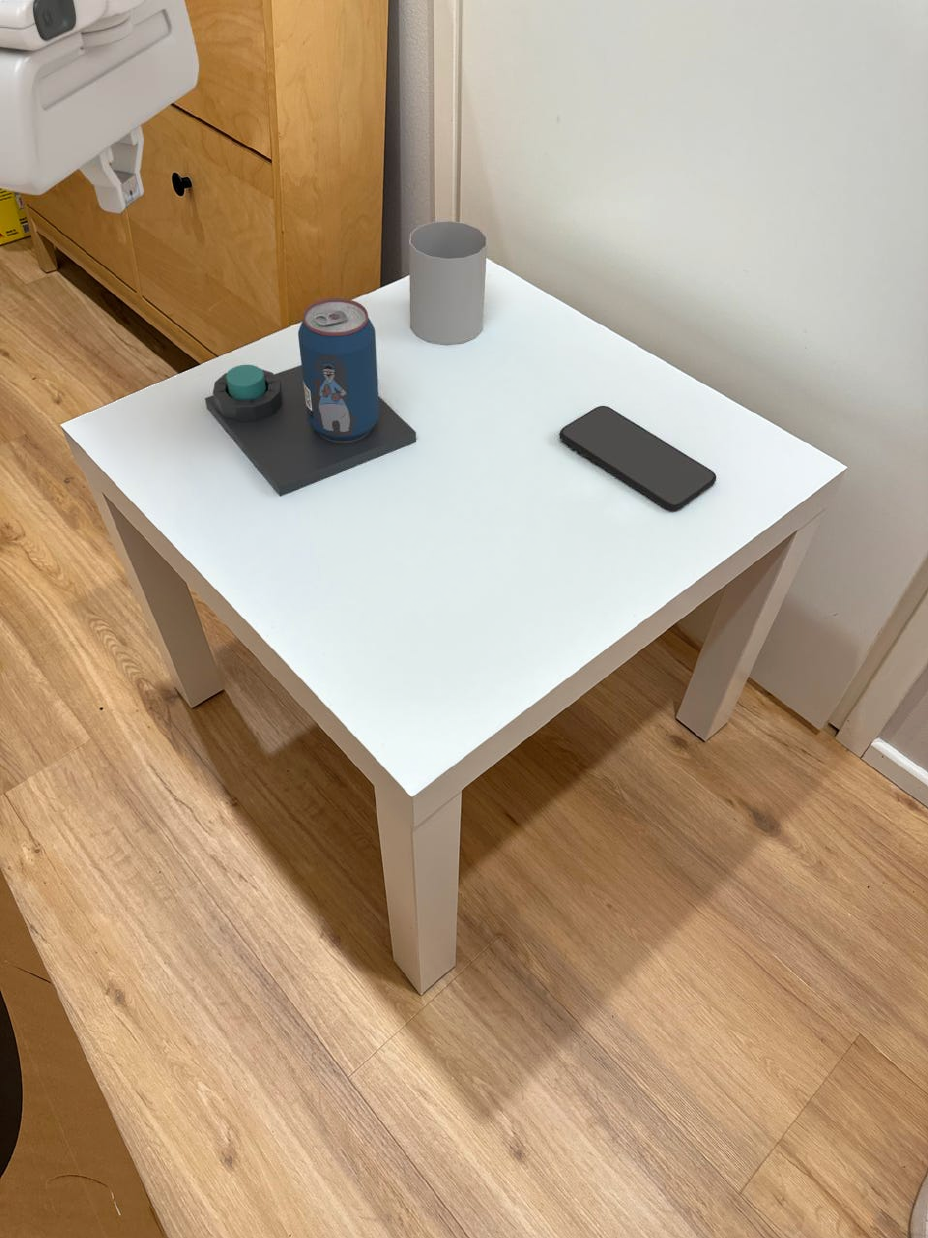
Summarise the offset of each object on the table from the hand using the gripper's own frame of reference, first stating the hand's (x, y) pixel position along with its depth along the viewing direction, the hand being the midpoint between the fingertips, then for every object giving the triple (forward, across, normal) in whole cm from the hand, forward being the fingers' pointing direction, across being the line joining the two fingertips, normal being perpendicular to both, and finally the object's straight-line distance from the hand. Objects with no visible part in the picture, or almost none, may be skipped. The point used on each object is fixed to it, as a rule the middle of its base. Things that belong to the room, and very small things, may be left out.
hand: (123, 203), depth 63 cm
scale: (+27, -14, +5) cm, 31 cm away
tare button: (+24, -13, -1) cm, 28 cm away
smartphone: (+27, -20, +37) cm, 50 cm away
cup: (+27, -36, +12) cm, 47 cm away
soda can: (+26, -13, +9) cm, 31 cm away
